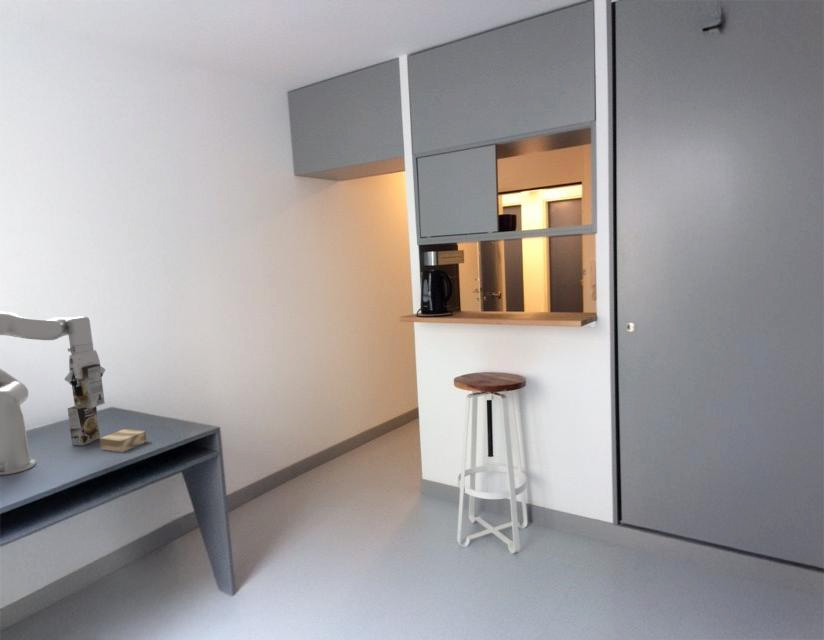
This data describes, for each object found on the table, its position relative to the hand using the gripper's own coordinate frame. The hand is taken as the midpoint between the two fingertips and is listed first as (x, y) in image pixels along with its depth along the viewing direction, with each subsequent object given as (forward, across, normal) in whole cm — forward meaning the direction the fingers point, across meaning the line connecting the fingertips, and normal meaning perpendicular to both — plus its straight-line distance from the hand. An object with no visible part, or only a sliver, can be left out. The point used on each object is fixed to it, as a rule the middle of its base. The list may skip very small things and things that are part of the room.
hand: (88, 393), depth 207 cm
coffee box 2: (+26, +10, +21) cm, 35 cm away
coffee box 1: (+5, 0, 0) cm, 5 cm away
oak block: (+26, +12, 0) cm, 29 cm away
